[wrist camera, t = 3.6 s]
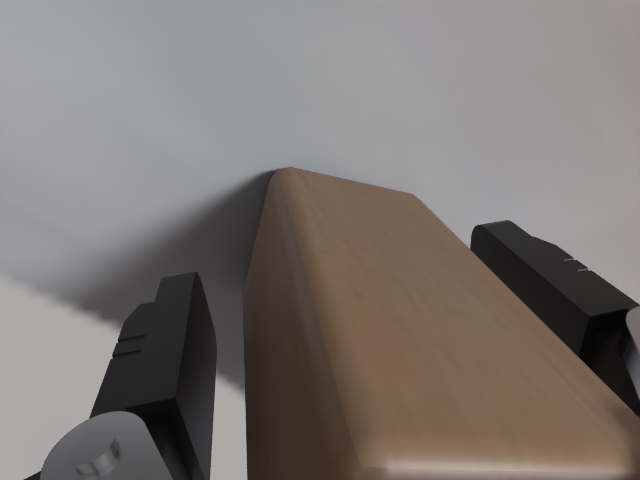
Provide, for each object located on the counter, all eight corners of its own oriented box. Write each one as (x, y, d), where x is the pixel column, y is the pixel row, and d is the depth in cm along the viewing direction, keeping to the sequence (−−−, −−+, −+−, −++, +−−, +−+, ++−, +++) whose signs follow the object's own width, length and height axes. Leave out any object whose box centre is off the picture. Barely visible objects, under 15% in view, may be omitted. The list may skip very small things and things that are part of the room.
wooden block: (239, 296, 12) (245, 704, 5) (272, 158, 10) (353, 470, 3) (372, 313, 13) (533, 665, 6) (420, 191, 11) (723, 478, 4)
